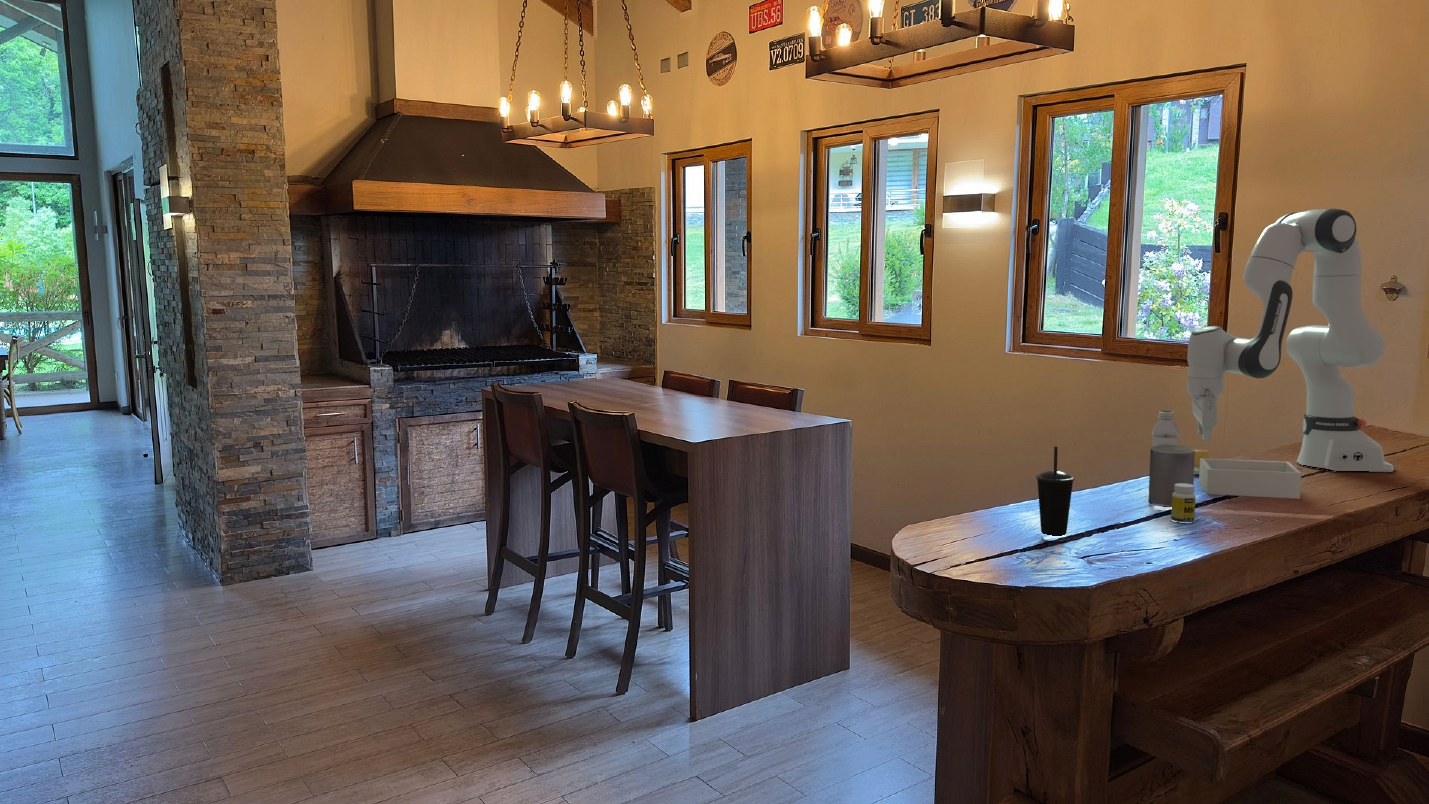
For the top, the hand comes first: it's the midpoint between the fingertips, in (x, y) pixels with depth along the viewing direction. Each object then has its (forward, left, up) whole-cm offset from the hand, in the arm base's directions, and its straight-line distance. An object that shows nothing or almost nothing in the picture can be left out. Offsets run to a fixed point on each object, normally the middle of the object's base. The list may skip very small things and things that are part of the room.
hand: (1204, 437), depth 258 cm
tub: (-7, +21, -10) cm, 25 cm away
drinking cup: (+38, +76, -10) cm, 86 cm away
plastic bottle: (+12, +20, -10) cm, 26 cm away
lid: (-7, 0, -10) cm, 12 cm away
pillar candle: (+12, +38, -10) cm, 41 cm away
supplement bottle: (+11, +54, -10) cm, 56 cm away
